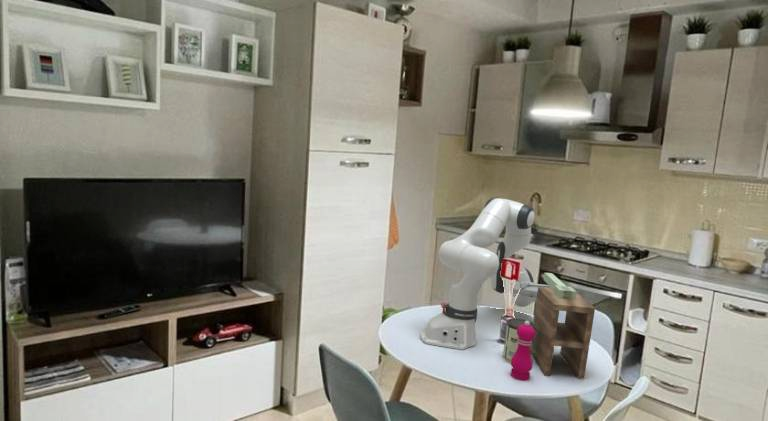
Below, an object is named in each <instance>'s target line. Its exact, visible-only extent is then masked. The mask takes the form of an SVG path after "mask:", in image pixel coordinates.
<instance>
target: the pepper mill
mask: <svg viewBox="0 0 768 421" xmlns="http://www.w3.org/2000/svg"><path fill="white" fill-rule="evenodd" d="M529 321H530V320H527V321H525V323H524V324H523V325H520V326H519V327H518V329H517V335H518V336H519V337H518V338H517V339H518V340H517V342H518V348H517V351H516V352H515V354H514V355H513V357H512V360H511V363H510V366H511V367H512V368H511V369H510V376H511V377H512V378H514V379H516V380H519V381H520V380H521V381H526V380H529V379H530V377H531V376H530V375H531V372H530V371H531V370H532V369H533V358H532V355H531V356H530V346H531V345H532V339H533V338H534V336H535V330H534V329H533V327H531V326H530V322H531V321H530V322H529Z"/></svg>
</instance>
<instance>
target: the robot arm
mask: <svg viewBox="0 0 768 421" xmlns="http://www.w3.org/2000/svg"><path fill="white" fill-rule="evenodd" d="M535 220H536V211H535V210H534V208H533V207H532V206H531V205H529V204H526V203H525V204H523V203H521V202H519V201H516V200H515V201H514V200H513V199H507V198H500V197H491V198H489V199H488V200H487V201H485V204H484V207H483V209H482V210H481V212H480V214H478V216H477V218H476V219H475V221H474V222H473V223H472V225H471V227H469V229H467V230H466V231H465V232H463V233H462V234H461V235H459V236H457V237H456V238H453V239H450V240H446V241H445V242H443V243H442V244H441V246H440V247H439V250H438V259H439V262H440V263H441V264H442V265H444V266H446V267H448V268H450V269H451V270H456V271H459V272H462V273H463V275H462V276H463V277H462V278H461V279H459V280H456V281H454V282H453V283H452V284H451V285H450V288H449V296H448V303H446V302H444V301H443V302H441V304H440V306H441V308H442V312H441V313H438V314H436V315H435V316H433V317H431V318H430V319H428V322H427V325H426V328H422V329H421V330H420V333H419V336H420V340H421V341H422V342H423V343H425V344H427V345H430V346H431V345H432V346H437V347H443V348H444V347H445V348H448V349H449V348H451V349H456V350H462V351H463V350H465V349H467V348H471V347H475V346H476V345H477V342H478V341H477V337H476V322H477V319H478V300H479V299H478V298H479V294H480V290H481V288H482V285H483V284H484V283H485V281H487V280H488V279H490V285H491V287H492V289H493V290H494V291H495V292H497V293H499V294H504V293H505V292H504V287H503V280H502V278H501V277H500V271H501V263H502V259H503V258H508V259H509V258H510V257H511V256H513V255H515V254H516V253H517V252H520V251H521V250H523V249H524V248H526V247H527V246H528V245H529V244H530V242H531V239H532V227H533V225H534V222H535ZM504 229H505V233H504V236H503V238H502V240H501V241H500V242H499V243H498V246H497V249H496V253H495V252H493V251H491V250H489V249H487V247H490V246H493V245H494V244H495V243H496V242H497V240H498V238H499V237H500V235H501V233H502V232H503V230H504ZM520 267H521V269H520V276H519V280H518V282H516V283H515V285H514V288H513V293H512V296H513V297H515V296H516V294H517V293H518V291H519V289H520V288H521V289H520V292H519V295H518V297H517V299H516V301H515V304H514V305H515V306H517V307H520V308H524V307H528V306H529V305H531V304H533V303H536V299H537V292H538V287H540V288H551V287H550V286H549V285H548V284H542V283H540V284H539V283H535V282H534V278H533V275H532V273H531V271H530V270H529V269H527V268H526V267H524V266H520ZM551 289H552V288H551Z"/></svg>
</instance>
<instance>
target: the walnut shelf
mask: <svg viewBox="0 0 768 421" xmlns="http://www.w3.org/2000/svg"><path fill="white" fill-rule="evenodd" d="M534 308H535V310H534V316H533V321H532V323H534V324H535V336H534V338H533V344H532V352H531V358H532V359H533V360H534V361H535V363H536V364H537V366H538V368H539V370H540V371H541V373H542V374H543V375H544V376H547V377H550V376H551V372H552V365H553V364H552V363H553V356H554V351H555V347H560V353H559V354H560V357H561V358H562V359H563V360H564V362H565V363H566V364H567V365H568V367H569V368H570V370H571V371H572V373H574V375H575V376H576V378H577V379H578V380H585V375H586V369H587V363H588V355H589V349H590V343H591V336H592V330H593V325H594V324H593V323H594V317H595V310H596V308H595V307H594V306H593V304H591V303H590V302H589V301H588V300H587V299H585V298H584V297H583V296H582V295H580V294H579V293H578V291H576V298H575V300H573V299H562V298H558V297H557V296H556V295H555V294H554V290H553V289H551V288H540V287H538V292H537V299H536V302H535V307H534ZM560 311H561V312H565V319H564V322H559V315H560Z"/></svg>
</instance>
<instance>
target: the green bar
mask: <svg viewBox="0 0 768 421" xmlns="http://www.w3.org/2000/svg"><path fill="white" fill-rule="evenodd" d="M543 281H544V282H545V283H546V285H549V286H550V287H551V288H552V289H553V290H554V294H555V295H556V296H557V297H558V298H562V299H573V300H575V298H576V292H577V291H576V290H575V289H574V288H573V287H572V286H568V285H566V284H565V283H564V282H563V281H561V280H560V279H559V278H558V277H557V276H556V275H555V274H554V273H552V272H544V273H543Z"/></svg>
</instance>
